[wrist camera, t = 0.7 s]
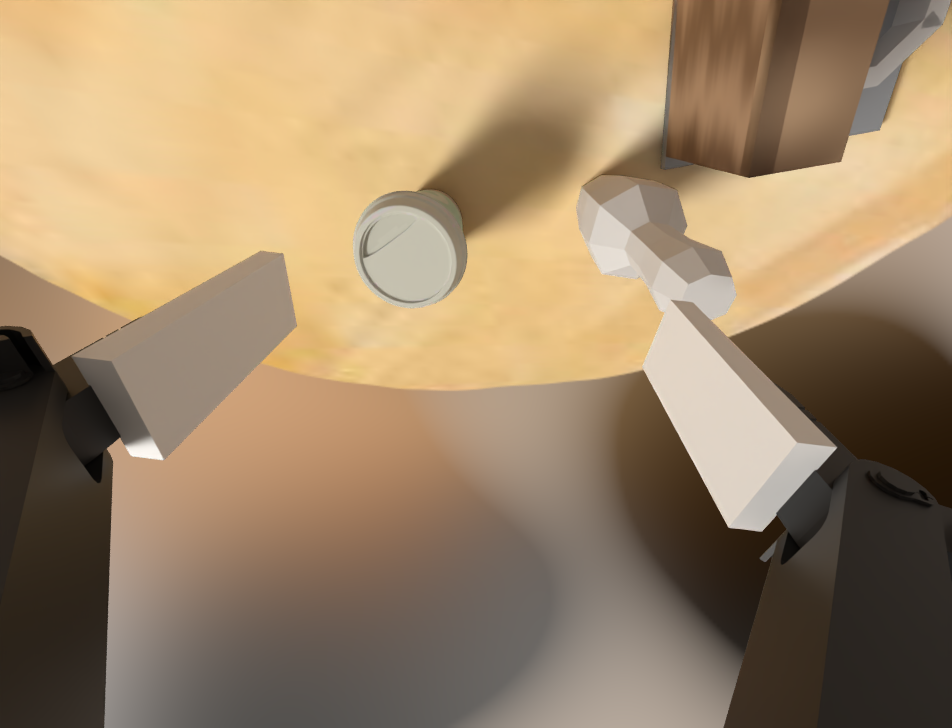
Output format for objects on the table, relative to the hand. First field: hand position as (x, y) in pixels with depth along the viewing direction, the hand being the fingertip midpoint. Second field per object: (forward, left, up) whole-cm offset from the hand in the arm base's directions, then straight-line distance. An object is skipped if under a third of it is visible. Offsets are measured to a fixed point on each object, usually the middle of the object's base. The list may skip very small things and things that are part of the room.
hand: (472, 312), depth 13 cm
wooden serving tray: (-7, +17, -26) cm, 32 cm away
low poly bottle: (+3, +10, -26) cm, 28 cm away
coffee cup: (+2, -6, -26) cm, 27 cm away
